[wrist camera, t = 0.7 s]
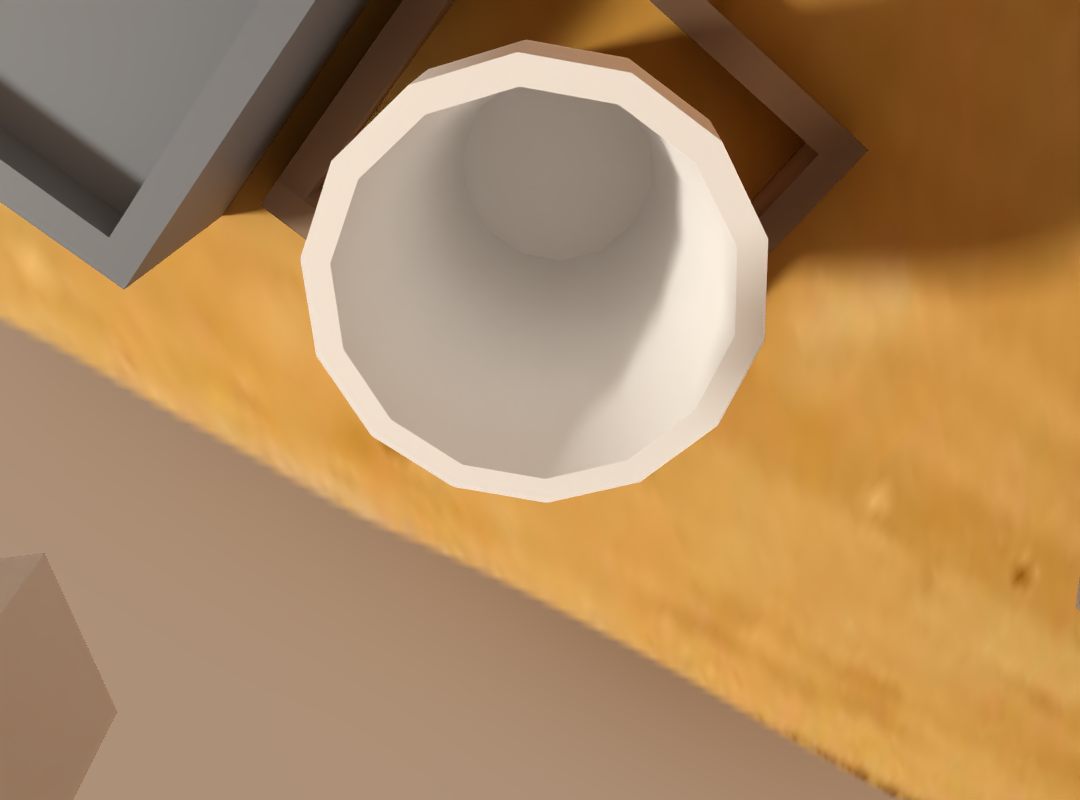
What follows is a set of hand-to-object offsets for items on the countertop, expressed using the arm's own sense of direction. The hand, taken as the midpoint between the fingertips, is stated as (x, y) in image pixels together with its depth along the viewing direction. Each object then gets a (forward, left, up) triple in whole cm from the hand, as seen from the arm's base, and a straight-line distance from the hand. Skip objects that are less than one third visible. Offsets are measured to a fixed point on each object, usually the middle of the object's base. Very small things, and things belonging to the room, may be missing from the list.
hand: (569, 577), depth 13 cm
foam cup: (+1, 0, -22) cm, 22 cm away
